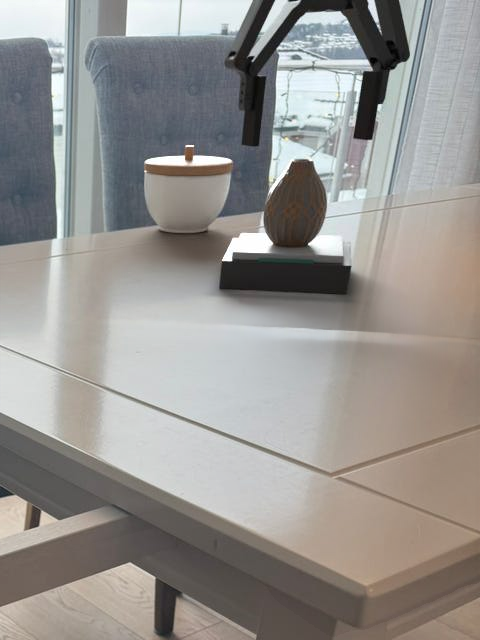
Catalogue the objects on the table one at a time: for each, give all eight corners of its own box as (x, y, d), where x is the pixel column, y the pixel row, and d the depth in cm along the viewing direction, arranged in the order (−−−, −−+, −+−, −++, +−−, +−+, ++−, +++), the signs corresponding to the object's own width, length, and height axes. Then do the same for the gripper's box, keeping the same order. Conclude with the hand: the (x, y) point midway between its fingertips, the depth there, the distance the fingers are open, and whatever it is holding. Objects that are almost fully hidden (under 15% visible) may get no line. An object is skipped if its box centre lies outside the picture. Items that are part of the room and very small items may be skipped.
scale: (345, 267, 115) (351, 234, 113) (346, 294, 103) (353, 258, 101) (230, 263, 118) (233, 231, 116) (218, 288, 107) (222, 253, 105)
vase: (248, 244, 109) (257, 160, 104) (281, 236, 113) (292, 155, 108) (299, 252, 104) (312, 165, 100) (332, 243, 108) (346, 159, 103)
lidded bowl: (241, 227, 139) (251, 143, 133) (197, 240, 131) (205, 152, 125) (170, 218, 146) (176, 139, 140) (123, 230, 138) (128, 147, 132)
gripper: (428, -98, 97) (388, 134, 108) (204, -96, 92) (187, 145, 104) (475, -108, 90) (428, 139, 102) (237, -107, 86) (216, 151, 97)
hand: (306, 142), depth 103 cm, fingers open, 13 cm apart
